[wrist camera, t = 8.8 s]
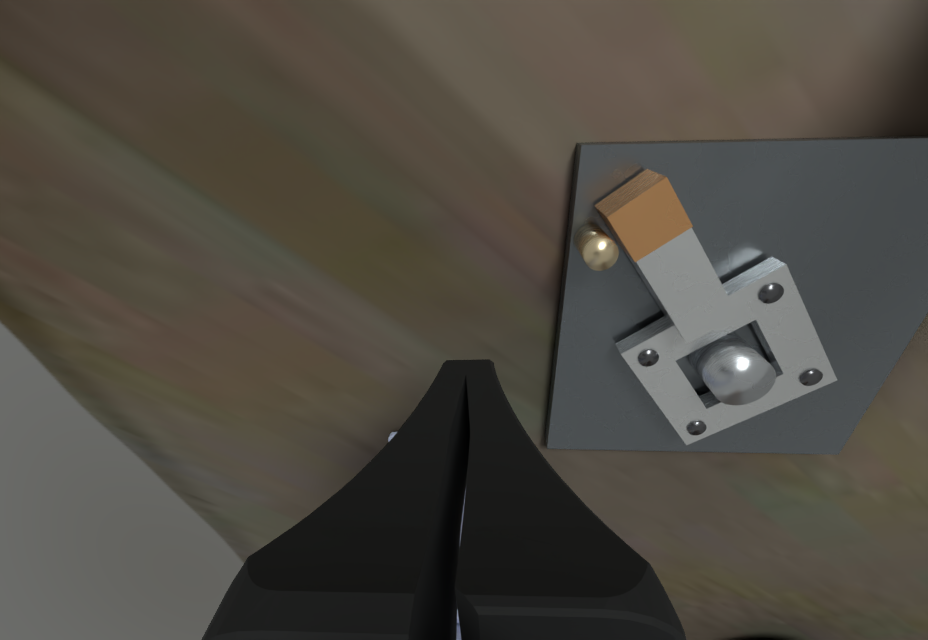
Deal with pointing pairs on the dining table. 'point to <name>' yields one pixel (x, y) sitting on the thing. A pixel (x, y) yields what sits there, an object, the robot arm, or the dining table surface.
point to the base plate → (731, 253)
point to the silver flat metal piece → (705, 311)
